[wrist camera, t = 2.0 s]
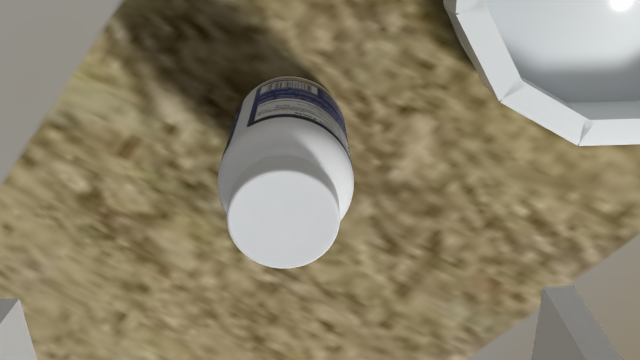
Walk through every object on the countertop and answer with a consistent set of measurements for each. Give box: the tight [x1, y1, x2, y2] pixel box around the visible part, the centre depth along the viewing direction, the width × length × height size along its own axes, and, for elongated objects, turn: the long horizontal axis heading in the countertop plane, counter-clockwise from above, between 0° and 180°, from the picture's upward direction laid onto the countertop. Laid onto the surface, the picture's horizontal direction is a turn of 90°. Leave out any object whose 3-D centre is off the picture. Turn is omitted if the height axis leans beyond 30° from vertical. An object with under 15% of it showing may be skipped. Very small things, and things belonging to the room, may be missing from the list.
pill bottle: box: [218, 76, 354, 268], centre depth 25 cm, size 5×5×10 cm
